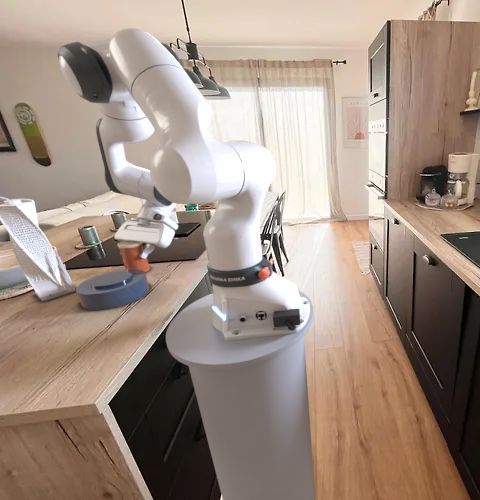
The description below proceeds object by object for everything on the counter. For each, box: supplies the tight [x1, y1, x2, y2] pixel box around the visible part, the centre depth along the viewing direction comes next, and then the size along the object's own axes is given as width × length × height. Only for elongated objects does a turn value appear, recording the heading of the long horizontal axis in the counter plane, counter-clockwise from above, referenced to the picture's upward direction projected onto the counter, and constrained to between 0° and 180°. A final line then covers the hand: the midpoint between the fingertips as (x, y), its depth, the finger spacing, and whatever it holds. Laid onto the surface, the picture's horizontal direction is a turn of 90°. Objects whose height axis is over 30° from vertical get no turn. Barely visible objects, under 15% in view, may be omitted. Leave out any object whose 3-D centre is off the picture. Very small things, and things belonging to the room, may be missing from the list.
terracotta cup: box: [116, 240, 151, 273], centre depth 93 cm, size 7×7×10 cm
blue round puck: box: [75, 268, 150, 311], centre depth 79 cm, size 15×15×5 cm
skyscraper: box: [0, 196, 76, 303], centre depth 76 cm, size 8×8×28 cm
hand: (132, 256), depth 92 cm, fingers closed on terracotta cup, 6 cm apart
